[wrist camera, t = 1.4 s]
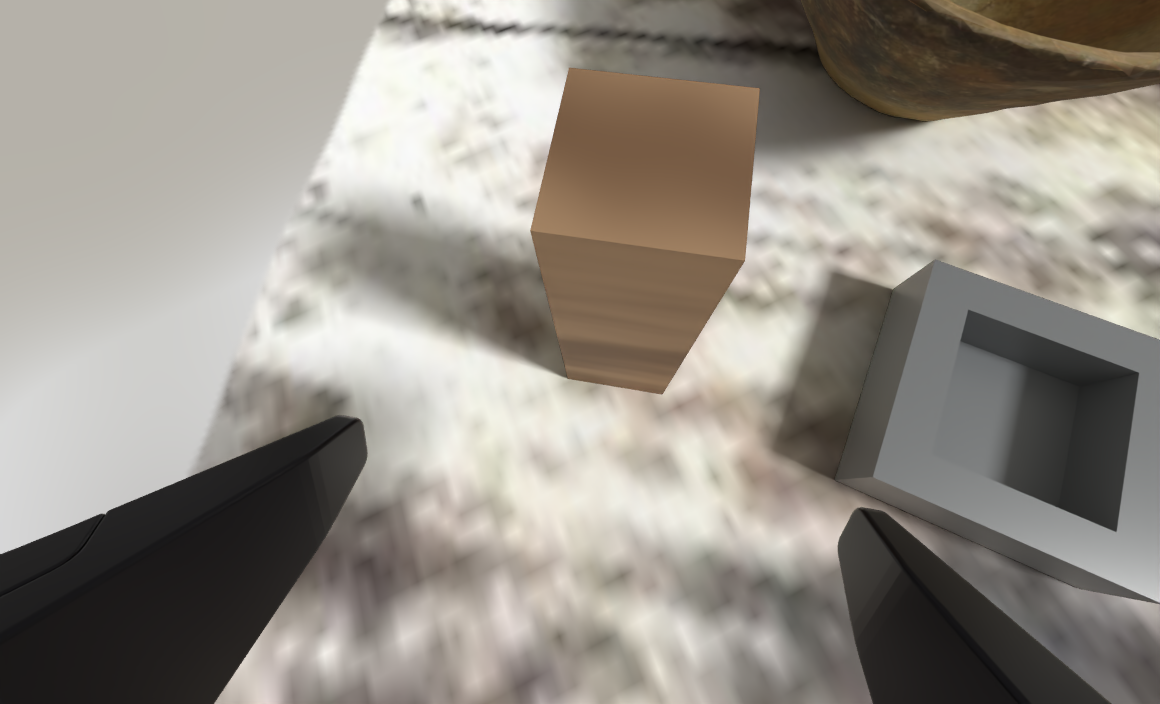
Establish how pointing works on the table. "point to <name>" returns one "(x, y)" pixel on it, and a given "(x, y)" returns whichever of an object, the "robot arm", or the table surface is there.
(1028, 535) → the socket
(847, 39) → the bowl
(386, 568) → the table surface
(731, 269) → the tall wooden post
